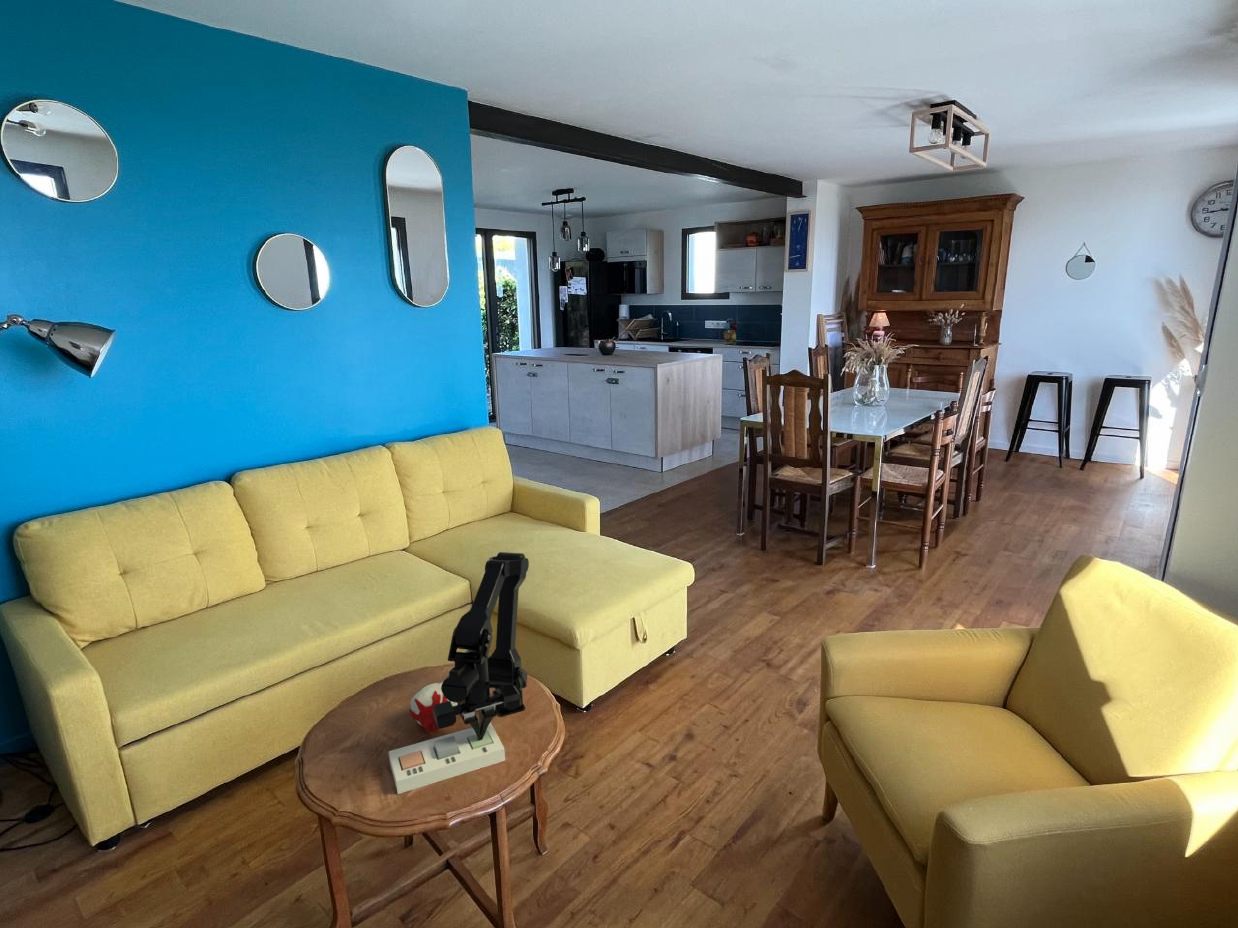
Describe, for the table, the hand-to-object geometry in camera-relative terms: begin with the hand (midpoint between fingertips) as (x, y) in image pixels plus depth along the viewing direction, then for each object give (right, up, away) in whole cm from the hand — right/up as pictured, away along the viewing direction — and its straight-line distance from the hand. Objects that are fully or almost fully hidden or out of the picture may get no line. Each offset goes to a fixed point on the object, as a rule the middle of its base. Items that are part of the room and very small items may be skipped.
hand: (480, 738), depth 154 cm
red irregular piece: (-13, -1, +12) cm, 18 cm away
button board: (-7, -4, -2) cm, 8 cm away
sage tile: (0, -2, 0) cm, 2 cm away
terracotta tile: (-13, -4, -6) cm, 15 cm away
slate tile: (-7, -2, -3) cm, 8 cm away
